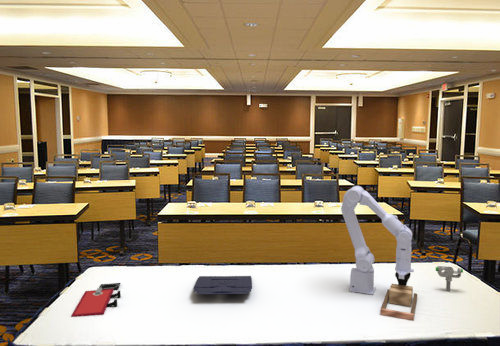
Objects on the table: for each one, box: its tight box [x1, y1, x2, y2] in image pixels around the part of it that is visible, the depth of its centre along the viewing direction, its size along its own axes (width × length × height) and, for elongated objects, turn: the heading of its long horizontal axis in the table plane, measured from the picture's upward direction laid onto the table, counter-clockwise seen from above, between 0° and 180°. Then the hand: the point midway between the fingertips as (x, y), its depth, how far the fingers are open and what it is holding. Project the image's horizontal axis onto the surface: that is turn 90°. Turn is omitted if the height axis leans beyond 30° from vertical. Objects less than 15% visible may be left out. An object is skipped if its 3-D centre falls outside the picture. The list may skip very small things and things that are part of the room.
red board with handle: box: [71, 282, 122, 318], centre depth 169 cm, size 30×3×15 cm
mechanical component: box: [435, 265, 464, 292], centre depth 176 cm, size 3×10×10 cm, turn 79°
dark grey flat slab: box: [193, 275, 253, 295], centre depth 179 cm, size 24×30×4 cm
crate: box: [388, 283, 414, 307], centre depth 166 cm, size 8×8×6 cm
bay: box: [379, 288, 418, 321], centre depth 162 cm, size 11×21×2 cm, turn 155°
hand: (402, 290), depth 171 cm, fingers closed
